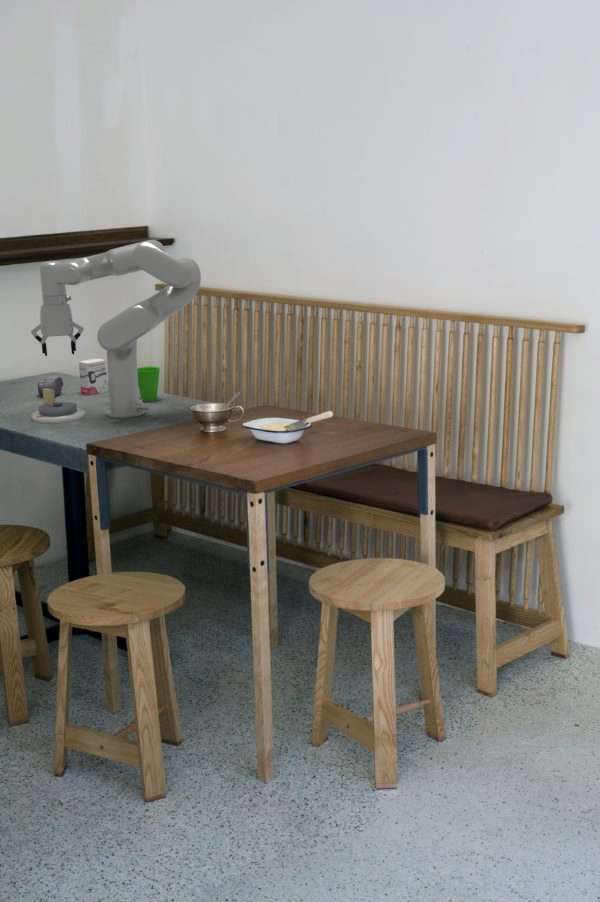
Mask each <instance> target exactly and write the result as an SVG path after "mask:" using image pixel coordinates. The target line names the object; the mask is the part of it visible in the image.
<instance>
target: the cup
mask: <svg viewBox="0 0 600 902" xmlns="http://www.w3.org/2000/svg"><path fill="white" fill-rule="evenodd" d="M160 370H161V367H159V366H152V365H151V366H140V367H137V372H138V387H139V396H140V399H142V402H146V403H150V402H156V401H157V399H158V388H159V380H160Z"/></svg>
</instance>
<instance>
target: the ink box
mask: <svg viewBox="0 0 600 902" xmlns="http://www.w3.org/2000/svg"><path fill="white" fill-rule="evenodd" d="M78 367H79V381H80V383H79V384H80V392H81V394H82V395H86V396H92V395H97V394H104V393H109V386H108V372H107V359H106V360H105V359H103V358H99V357H98V358H97V357H96V358H91V359H85V360H81V361H79V362H78Z"/></svg>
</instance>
